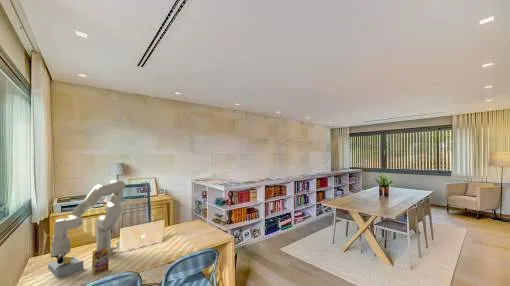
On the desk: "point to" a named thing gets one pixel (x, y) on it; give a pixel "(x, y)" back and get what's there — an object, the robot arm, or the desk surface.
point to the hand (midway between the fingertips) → (60, 263)
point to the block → (67, 259)
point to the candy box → (100, 260)
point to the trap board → (65, 267)
